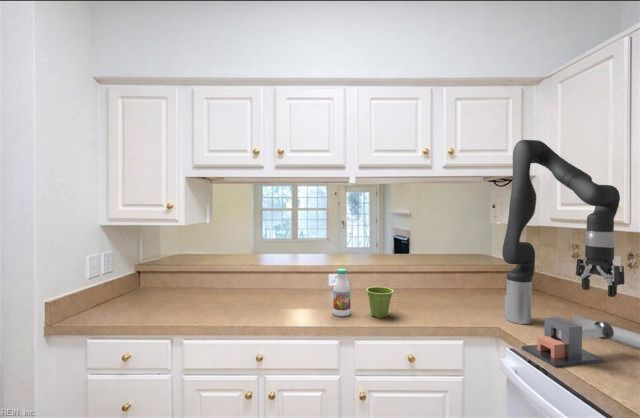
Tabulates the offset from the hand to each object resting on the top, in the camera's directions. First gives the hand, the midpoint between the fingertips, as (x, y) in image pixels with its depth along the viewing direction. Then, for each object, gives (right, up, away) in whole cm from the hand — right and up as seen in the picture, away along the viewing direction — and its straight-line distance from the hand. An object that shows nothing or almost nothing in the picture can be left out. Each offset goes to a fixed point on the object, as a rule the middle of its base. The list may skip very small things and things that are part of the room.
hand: (598, 293), depth 114 cm
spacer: (-18, -17, -3) cm, 25 cm away
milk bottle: (-83, -19, +38) cm, 94 cm away
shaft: (-6, -16, -1) cm, 17 cm away
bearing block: (-14, -20, -2) cm, 24 cm away
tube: (+13, -20, +13) cm, 27 cm away
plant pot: (-67, -19, +37) cm, 79 cm away
